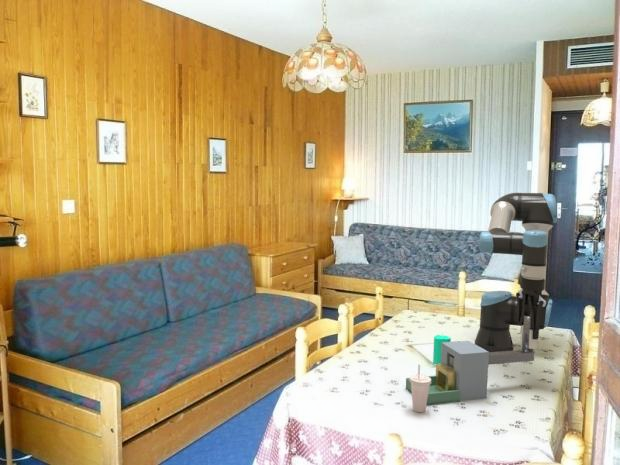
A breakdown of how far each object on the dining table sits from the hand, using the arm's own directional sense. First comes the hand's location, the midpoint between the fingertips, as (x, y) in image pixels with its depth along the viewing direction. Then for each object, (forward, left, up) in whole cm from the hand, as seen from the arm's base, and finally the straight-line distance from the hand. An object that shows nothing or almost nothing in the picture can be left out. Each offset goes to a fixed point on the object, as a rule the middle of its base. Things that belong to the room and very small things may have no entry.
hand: (528, 346), depth 183 cm
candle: (+18, -25, -14) cm, 34 cm away
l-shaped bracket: (+14, 0, -5) cm, 14 cm away
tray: (+35, 0, -14) cm, 38 cm away
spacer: (+31, 0, -9) cm, 32 cm away
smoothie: (+44, +9, -14) cm, 47 cm away
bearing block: (+24, 0, -14) cm, 28 cm away
